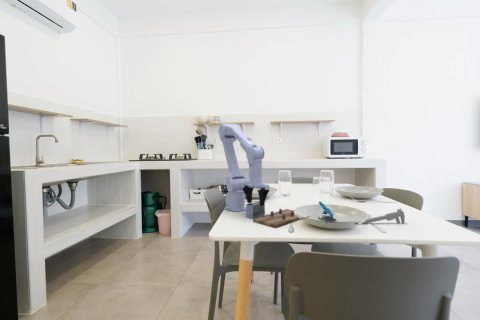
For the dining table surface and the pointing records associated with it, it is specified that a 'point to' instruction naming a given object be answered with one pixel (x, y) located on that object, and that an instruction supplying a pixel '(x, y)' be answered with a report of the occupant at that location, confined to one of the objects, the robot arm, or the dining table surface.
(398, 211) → the caliper
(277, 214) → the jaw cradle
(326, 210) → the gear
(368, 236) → the dining table surface
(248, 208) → the block
